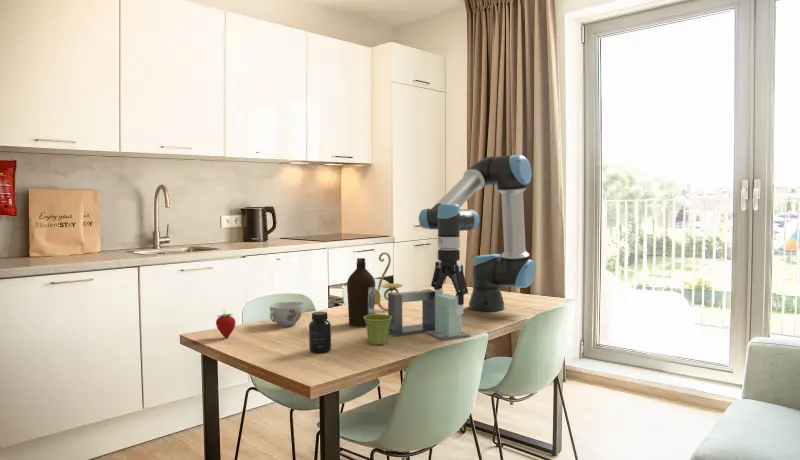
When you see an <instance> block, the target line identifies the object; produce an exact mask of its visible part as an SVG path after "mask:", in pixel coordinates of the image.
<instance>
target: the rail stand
mask: <svg viewBox="0 0 800 460" xmlns="http://www.w3.org/2000/svg"><path fill="white" fill-rule="evenodd" d="M387 298H388V300H387V305H388V306H387V309H388V311H387V313H388V314H387V315H389V316H392V319H391V323H390V326H389V333H388V335H391V336H392V337H401V336H409V335H416V334H423V333H424V334H425V333H426V332H429V331H435V289H422V290H415V291H404V292H403V291H402V292H399V293H397V292H396V291H395V292H392V293H391V292H387ZM419 301H421V302H422V303H421V304H422V310H421V311H422V319H421V320H422V321H421V324H414V325H413V324H412V325H403V303H411V302H419Z"/></svg>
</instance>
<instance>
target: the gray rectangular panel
mask: <svg viewBox="0 0 800 460" xmlns="http://www.w3.org/2000/svg"><path fill="white" fill-rule="evenodd" d="M425 333H426V334H427V335H429V336H431V337H434V338H437V339H439V340H441V341H448V340H457V339H463V338H470V337H471V334H469V333H466V332H464V331H461V335H460V336H453V337H448V336H446V332H439V333H438V332H435V331H429V332H425Z"/></svg>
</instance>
